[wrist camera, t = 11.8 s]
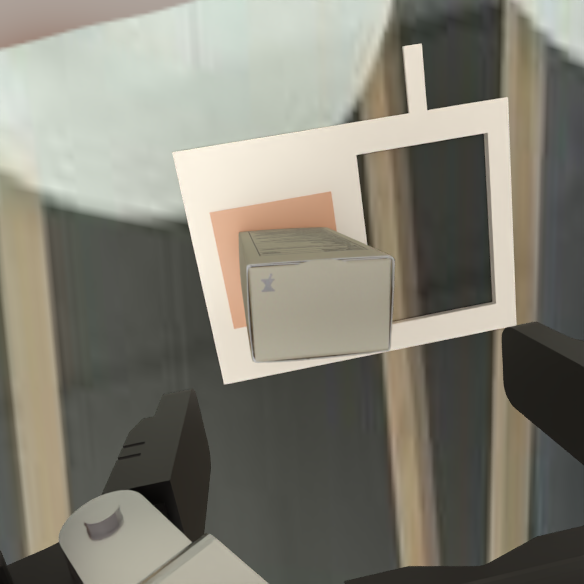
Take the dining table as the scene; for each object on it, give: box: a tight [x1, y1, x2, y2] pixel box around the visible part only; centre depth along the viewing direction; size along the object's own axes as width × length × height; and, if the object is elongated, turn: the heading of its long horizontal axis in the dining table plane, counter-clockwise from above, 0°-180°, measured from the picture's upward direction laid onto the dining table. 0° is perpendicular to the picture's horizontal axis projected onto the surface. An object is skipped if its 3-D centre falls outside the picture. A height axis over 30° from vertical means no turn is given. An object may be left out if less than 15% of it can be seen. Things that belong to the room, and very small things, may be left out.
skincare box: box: [239, 227, 395, 363], centre depth 24 cm, size 6×4×12 cm
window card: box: [172, 44, 516, 385], centre depth 30 cm, size 22×20×1 cm
